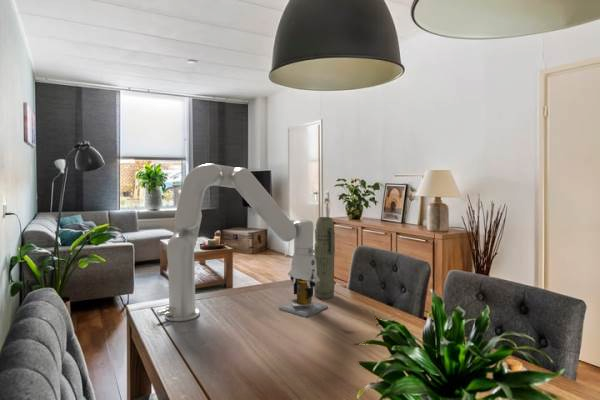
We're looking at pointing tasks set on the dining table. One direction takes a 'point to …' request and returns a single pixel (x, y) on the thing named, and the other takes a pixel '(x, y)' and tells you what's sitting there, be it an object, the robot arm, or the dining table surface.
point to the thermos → (324, 258)
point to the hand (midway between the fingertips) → (303, 294)
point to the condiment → (302, 294)
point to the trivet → (303, 309)
